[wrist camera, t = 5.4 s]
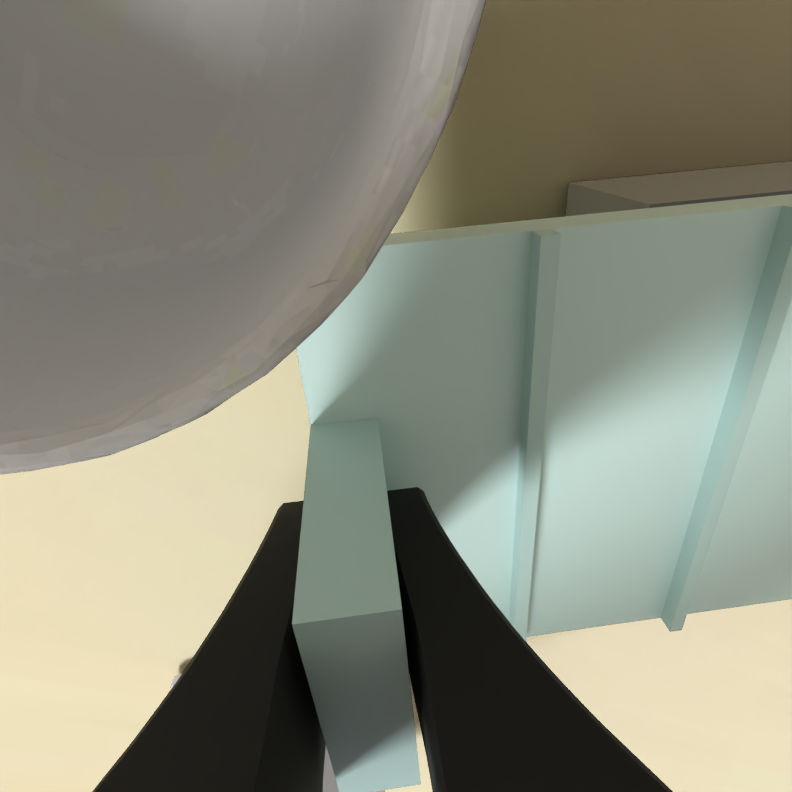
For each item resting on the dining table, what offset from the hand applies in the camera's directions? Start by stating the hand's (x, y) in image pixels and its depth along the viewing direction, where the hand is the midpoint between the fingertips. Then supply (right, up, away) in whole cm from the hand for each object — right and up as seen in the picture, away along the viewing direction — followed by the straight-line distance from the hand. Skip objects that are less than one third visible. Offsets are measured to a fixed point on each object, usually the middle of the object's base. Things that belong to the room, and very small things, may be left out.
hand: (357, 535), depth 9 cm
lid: (+5, +1, +2) cm, 6 cm away
